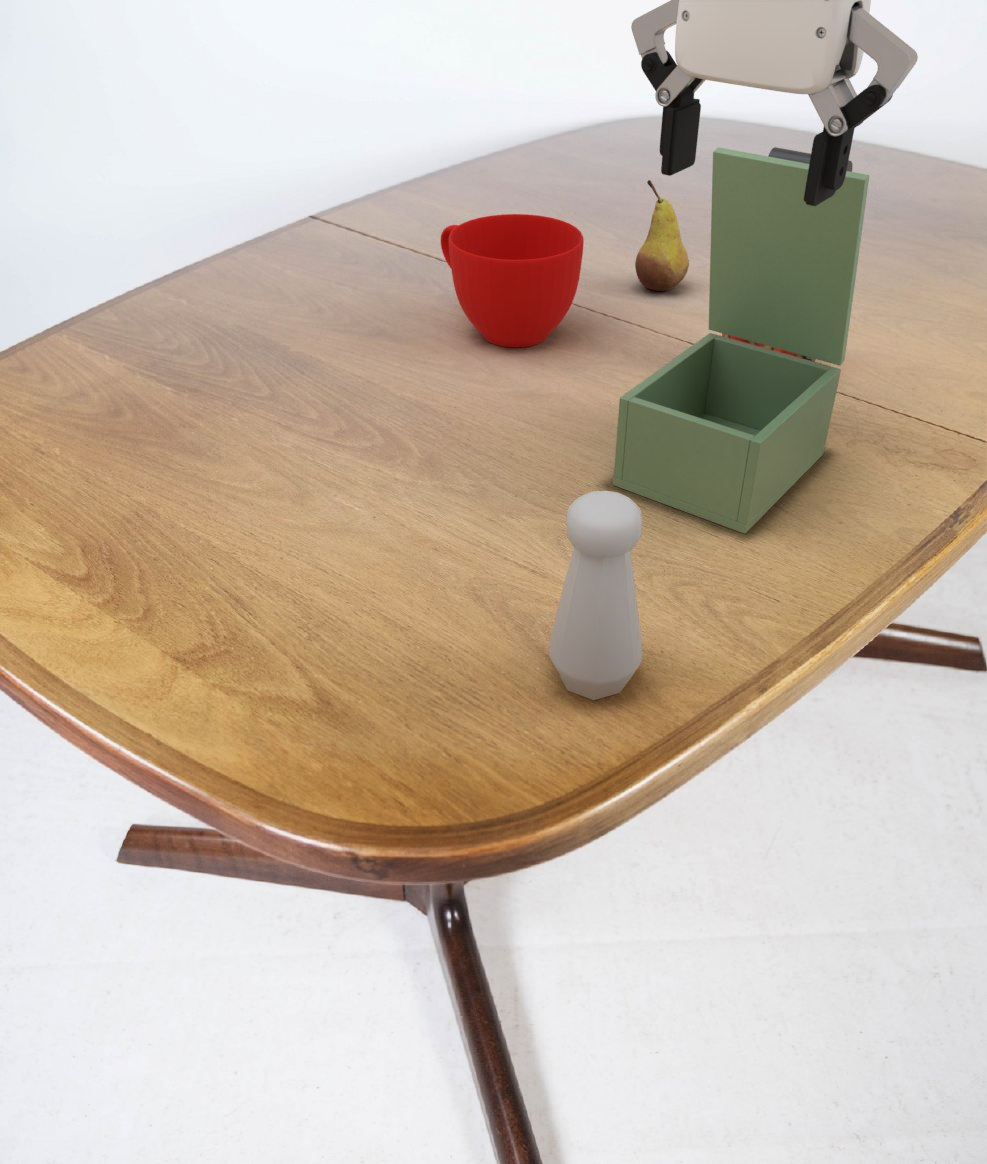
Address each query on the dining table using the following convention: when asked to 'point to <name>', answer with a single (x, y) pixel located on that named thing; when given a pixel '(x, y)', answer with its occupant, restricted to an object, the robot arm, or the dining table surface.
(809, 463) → the holder
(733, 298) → the lid
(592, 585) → the salt shaker
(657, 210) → the fruit
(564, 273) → the ceramic cup
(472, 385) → the dining table surface
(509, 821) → the dining table surface
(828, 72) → the robot arm
